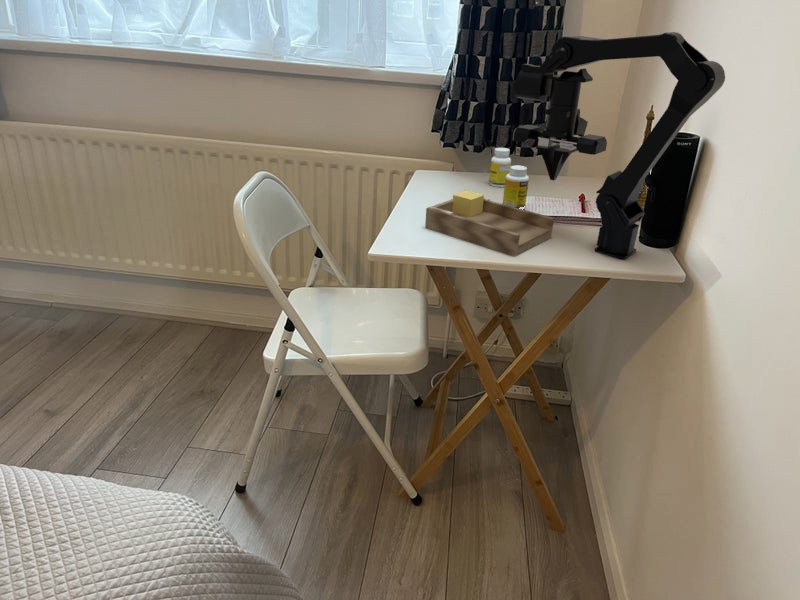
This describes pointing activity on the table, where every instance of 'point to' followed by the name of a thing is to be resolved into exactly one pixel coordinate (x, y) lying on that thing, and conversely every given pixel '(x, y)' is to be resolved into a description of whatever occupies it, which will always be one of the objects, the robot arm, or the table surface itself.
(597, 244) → the robot arm
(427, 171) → the table surface
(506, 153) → the supplement bottle
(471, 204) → the block
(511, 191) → the supplement bottle
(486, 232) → the wooden tray
